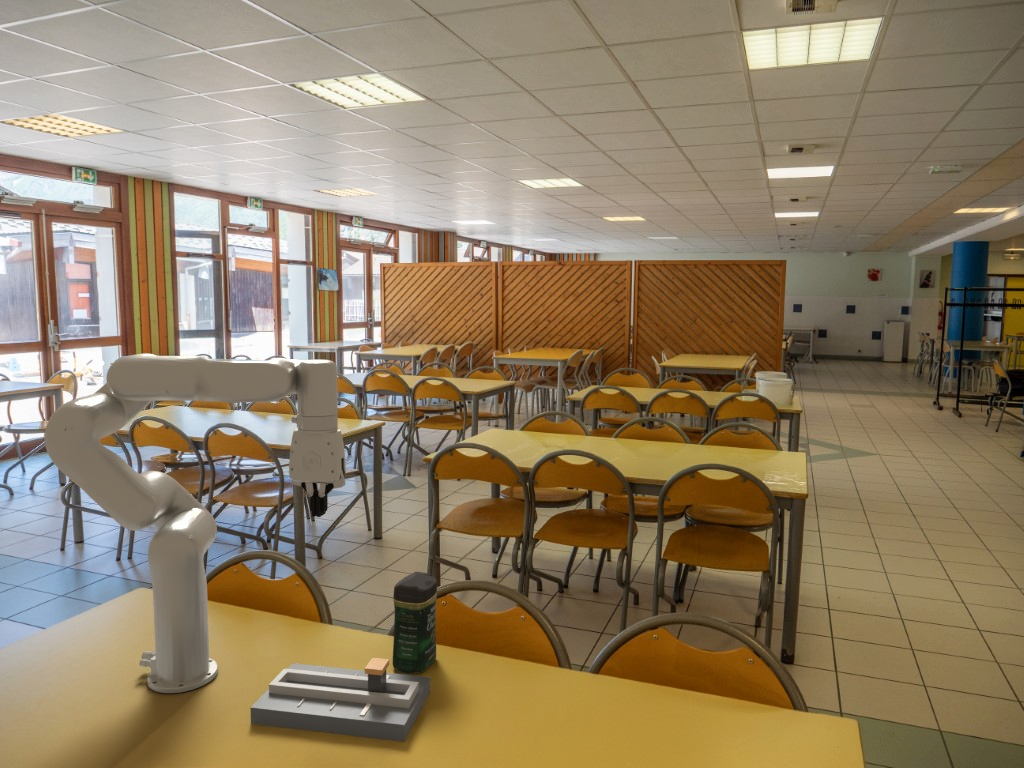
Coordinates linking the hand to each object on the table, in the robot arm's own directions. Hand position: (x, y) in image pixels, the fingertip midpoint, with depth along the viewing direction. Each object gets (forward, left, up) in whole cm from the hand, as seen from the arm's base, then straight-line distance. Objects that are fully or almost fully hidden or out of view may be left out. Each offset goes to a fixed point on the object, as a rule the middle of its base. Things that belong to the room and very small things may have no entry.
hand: (318, 514), depth 141 cm
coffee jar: (+18, +6, -32) cm, 37 cm away
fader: (+16, -12, -29) cm, 35 cm away
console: (+10, -12, -32) cm, 36 cm away
